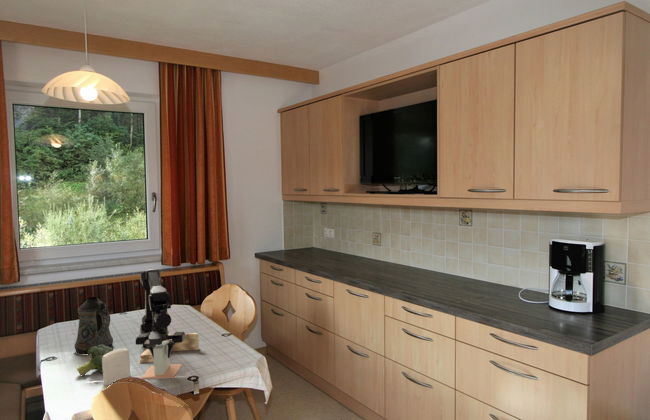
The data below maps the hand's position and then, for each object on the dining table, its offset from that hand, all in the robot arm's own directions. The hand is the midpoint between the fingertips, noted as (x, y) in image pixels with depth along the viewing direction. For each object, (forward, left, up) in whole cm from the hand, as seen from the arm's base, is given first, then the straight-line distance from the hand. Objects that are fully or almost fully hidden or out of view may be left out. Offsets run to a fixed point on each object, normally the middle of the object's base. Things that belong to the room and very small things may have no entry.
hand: (161, 358), depth 182 cm
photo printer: (-16, -6, -6) cm, 18 cm away
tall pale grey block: (0, 0, -5) cm, 5 cm away
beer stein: (-40, +32, -6) cm, 52 cm away
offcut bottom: (-9, +14, -7) cm, 18 cm away
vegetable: (-27, +3, -6) cm, 28 cm away
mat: (0, 0, -6) cm, 6 cm away
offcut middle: (-9, +14, -5) cm, 17 cm away
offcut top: (-9, +14, -4) cm, 17 cm away
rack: (-1, +16, -6) cm, 17 cm away
